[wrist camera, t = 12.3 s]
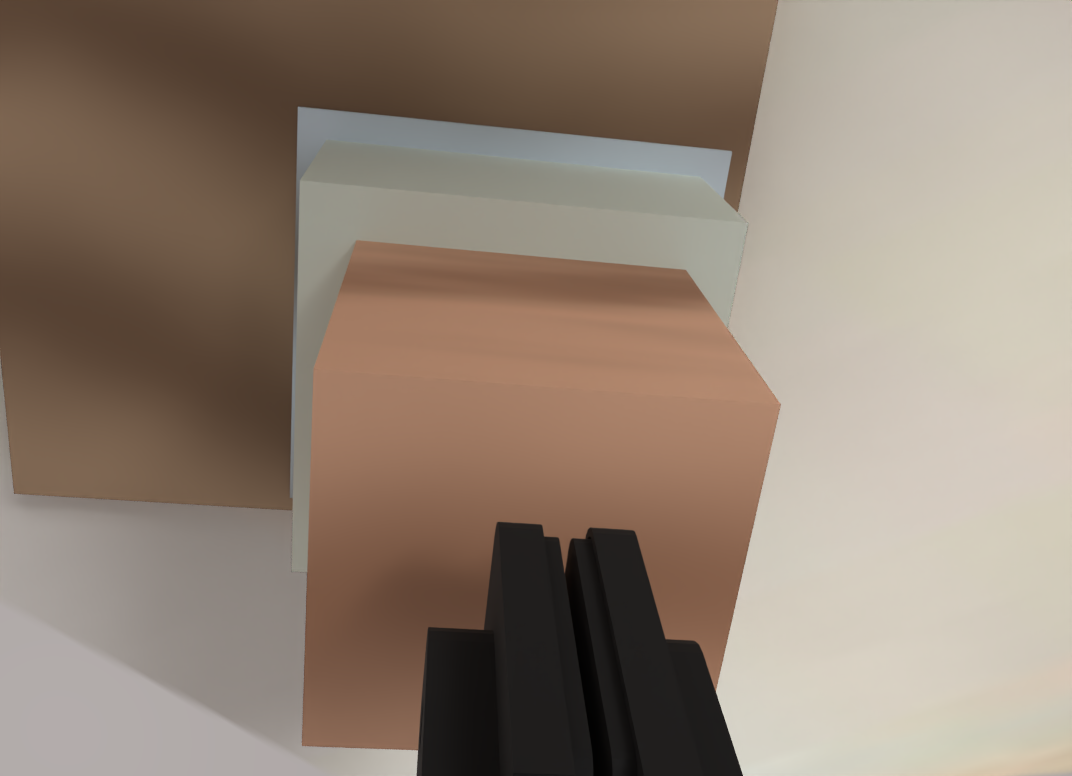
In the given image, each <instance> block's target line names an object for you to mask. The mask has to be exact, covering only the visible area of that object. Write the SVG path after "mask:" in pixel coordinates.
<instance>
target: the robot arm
mask: <svg viewBox="0 0 1072 776" xmlns="http://www.w3.org/2000/svg"><path fill="white" fill-rule="evenodd" d="M417 776H743V774H742V771H741V768H740V765H739V762H738V759H737V756H736V753H735V750H734V747H733V744H732V741H731V738H730V734H729V731H728V728H727V725H726V722H725V719H724V716H723V713H722V710H721V707H720V704H719V701H718V698H717V694H716V691H715V688H714V685H713V682H712V679H711V676H710V673H709V670H708V667H707V664H706V661H705V658H704V655H703V652H702V650H701V648H700V645H699V644H698V643H697V642H696V641H693V640H673V639H665V635H664V632H663V628H662V625H661V621H660V617H659V614H658V610H657V607H656V603H655V600H654V596H653V592H652V589H651V585H650V582H649V578H648V575H647V571H646V567H645V564H644V560H643V557H642V553H641V550H640V546H639V542H638V539H637V535H636V533H635V531H633V530H624V529H608V528H592V527H590V528H589V529H588V531H587V534H586V538H585V539H578V538H572V539H571V541H570V544H569V549H568V555H567V562H566V569H565V572H564V566H563V559H562V553H561V546H560V541H559V538H558V537H546V536H544V532H543V526H542V525H541V524H528V523H512V522H497V524H496V529H495V536H494V544H493V553H492V562H491V571H490V579H489V588H488V597H487V606H486V614H485V623H484V630H477V629H457V628H438V627H428V631H427V641H426V652H425V663H424V675H423V687H422V700H421V714H420V728H419V744H418V762H417Z"/></svg>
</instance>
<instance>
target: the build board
mask: <svg viewBox="0 0 1072 776" xmlns="http://www.w3.org/2000/svg"><path fill="white" fill-rule="evenodd" d="M777 4H778V0H0V357H1V367H2V377H3V387H4V397H5V407H6V417H7V427H8V437H9V447H10V457H11V467H12V478H13V488H14V494H29V495H46V496H62V497H79V498H96V499H112V500H129V501H146V502H162V503H179V504H196V505H212V506H229V507H246V508H262V509H279V510H293V467H294V422H295V377H296V331H297V286H298V241H299V195H300V179H301V178H302V176H303V175H304V173H305V172H306V170H307V169H308V167H309V166H310V164H311V163H312V161H313V159H314V158H315V156H316V155H317V153H318V152H319V150H320V149H321V147H322V146H323V144H324V143H325V141H326V140H336V141H346V142H356V143H366V144H376V145H386V146H396V147H406V148H416V149H426V150H436V151H446V152H457V153H467V154H477V155H487V156H497V157H507V158H517V159H527V160H537V161H547V162H557V163H567V164H577V165H587V166H597V167H607V168H617V169H627V170H637V171H647V172H657V173H668V174H678V175H688V176H698V177H701V178H702V179H703V180H704V181H705V182H706V183H707V184H708V185H709V186H710V187H711V188H712V189H714V190H715V191H716V192H717V193H718V194H719V195H720V196H721V197H722V198H723V199H724V200H725V201H726V202H727V203H728V204H729V205H730V206H731V207H732V208H733V209H734V210H735V211H736V212H738V207H739V202H740V197H741V192H742V186H743V181H744V176H745V171H746V166H747V160H748V155H749V150H750V145H751V140H752V134H753V129H754V124H755V119H756V113H757V108H758V103H759V98H760V93H761V87H762V82H763V77H764V72H765V67H766V61H767V56H768V51H769V46H770V41H771V35H772V30H773V25H774V20H775V15H776V9H777Z"/></svg>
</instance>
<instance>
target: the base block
mask: <svg viewBox="0 0 1072 776" xmlns="http://www.w3.org/2000/svg"><path fill="white" fill-rule="evenodd" d="M747 228H748V222H747V221H746V220H745V219H744V218H743V217H742V216H741V215H740V214H739V213H737V212H736V211H735V210H734V209H733V208H732V207H731V206H730V205H729V204H728V203H727V202H726V201H725V200H724V199H723V198H722V197H721V196H720V195H719V194H718V193H717V192H716V191H715V190H714V189H712V188H711V187H710V186H709V185H708V184H707V183H706V182H705V181H704V180H703V179H702V178H701V177H698V176H688V175H678V174H668V173H657V172H647V171H637V170H627V169H617V168H607V167H597V166H587V165H577V164H567V163H557V162H547V161H537V160H527V159H517V158H507V157H497V156H487V155H477V154H467V153H457V152H446V151H436V150H426V149H416V148H406V147H396V146H386V145H376V144H366V143H356V142H346V141H336V140H326V141H325V143H324V144H323V146H322V147H321V149H320V150H319V152H318V153H317V155H316V156H315V158H314V159H313V161H312V163H311V164H310V166H309V167H308V169H307V170H306V172H305V173H304V175H303V176H302V178H301V179H300V195H299V241H298V286H297V331H296V377H295V422H294V467H293V513H292V558H291V572H307V563H308V530H309V498H310V465H311V432H312V399H313V369H314V366H315V363H316V360H317V357H318V354H319V351H320V348H321V345H322V342H323V339H324V336H325V333H326V330H327V327H328V324H329V321H330V318H331V315H332V312H333V309H334V306H335V303H336V300H337V297H338V294H339V291H340V288H341V285H342V282H343V279H344V276H345V273H346V270H347V267H348V264H349V261H350V258H351V255H352V252H353V249H354V246H355V243H356V240H361V241H372V242H383V243H394V244H405V245H416V246H427V247H438V248H450V249H461V250H472V251H483V252H494V253H505V254H516V255H527V256H538V257H549V258H561V259H572V260H583V261H594V262H605V263H616V264H627V265H638V266H649V267H660V268H671V269H683V270H686V271H687V272H688V273H689V275H690V276H691V278H692V279H693V281H694V282H695V283H696V285H697V286H698V288H699V289H700V290H701V292H702V293H703V295H704V296H705V298H706V299H707V300H708V302H709V303H710V305H711V306H712V308H713V309H714V310H715V312H716V313H717V315H718V316H719V317H720V319H721V320H722V322H723V323H724V325H725V326H726V327H727V329H728V324H729V319H730V314H731V309H732V304H733V299H734V294H735V289H736V284H737V279H738V273H739V268H740V263H741V258H742V253H743V248H744V243H745V238H746V233H747Z"/></svg>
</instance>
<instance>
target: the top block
mask: <svg viewBox="0 0 1072 776" xmlns="http://www.w3.org/2000/svg"><path fill="white" fill-rule="evenodd" d="M780 405H781V404H780V403H779V401H778V400H777V399H776V397H775V396H774V394H773V393H772V391H771V390H770V389H769V387H768V386H767V384H766V383H765V381H764V380H763V379H762V377H761V376H760V374H759V373H758V372H757V370H756V369H755V367H754V366H753V364H752V363H751V362H750V360H749V359H748V357H747V356H746V354H745V353H744V352H743V350H742V349H741V347H740V346H739V345H738V343H737V342H736V340H735V339H734V337H733V336H732V335H731V333H730V332H729V330H728V329H727V327H726V326H725V325H724V323H723V322H722V320H721V319H720V317H719V316H718V315H717V313H716V312H715V310H714V309H713V308H712V306H711V305H710V303H709V302H708V300H707V299H706V298H705V296H704V295H703V293H702V292H701V290H700V289H699V288H698V286H697V285H696V283H695V282H694V281H693V279H692V278H691V276H690V275H689V273H688V272H687V271H686V270H683V269H671V268H660V267H649V266H638V265H627V264H616V263H605V262H594V261H583V260H572V259H561V258H549V257H538V256H527V255H516V254H505V253H494V252H483V251H472V250H461V249H450V248H438V247H427V246H416V245H405V244H394V243H383V242H372V241H361V240H356V243H355V246H354V249H353V252H352V255H351V258H350V261H349V264H348V267H347V270H346V273H345V276H344V279H343V282H342V285H341V288H340V291H339V294H338V297H337V300H336V303H335V306H334V309H333V312H332V315H331V318H330V321H329V324H328V327H327V330H326V333H325V336H324V339H323V342H322V345H321V348H320V351H319V354H318V357H317V360H316V363H315V366H314V369H313V399H312V432H311V465H310V498H309V530H308V563H307V596H306V629H305V662H304V694H303V727H302V746H317V747H345V748H373V749H401V750H418V744H419V728H420V714H421V700H422V687H423V675H424V663H425V652H426V641H427V631H428V627H438V628H457V629H477V630H484V623H485V614H486V606H487V597H488V588H489V579H490V571H491V562H492V553H493V544H494V536H495V529H496V524H497V522H512V523H528V524H541V525H542V526H543V532H544V536H546V537H558V538H559V541H560V546H561V553H562V559H563V566H564V572H565V569H566V562H567V555H568V549H569V544H570V541H571V539H572V538H578V539H585V538H586V534H587V531H588V529H589V528H590V527H592V528H608V529H624V530H633V531H635V533H636V535H637V539H638V542H639V546H640V550H641V553H642V557H643V560H644V564H645V567H646V571H647V575H648V578H649V582H650V585H651V589H652V592H653V596H654V600H655V603H656V607H657V610H658V614H659V617H660V621H661V625H662V628H663V632H664V635H665V639H673V640H693V641H696V642H697V643H698V644H699V645H700V648H701V650H702V652H703V655H704V658H705V661H706V664H707V667H708V670H709V673H710V676H711V679H712V682H713V685H714V688H715V691H716V688H717V683H718V679H719V675H720V670H721V666H722V661H723V657H724V653H725V648H726V644H727V639H728V635H729V630H730V626H731V622H732V617H733V613H734V608H735V604H736V600H737V595H738V591H739V586H740V582H741V578H742V573H743V569H744V564H745V560H746V555H747V551H748V547H749V542H750V538H751V533H752V529H753V525H754V520H755V516H756V511H757V507H758V503H759V498H760V494H761V489H762V485H763V480H764V476H765V472H766V467H767V463H768V458H769V454H770V450H771V445H772V441H773V436H774V432H775V427H776V423H777V419H778V414H779V410H780Z"/></svg>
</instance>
